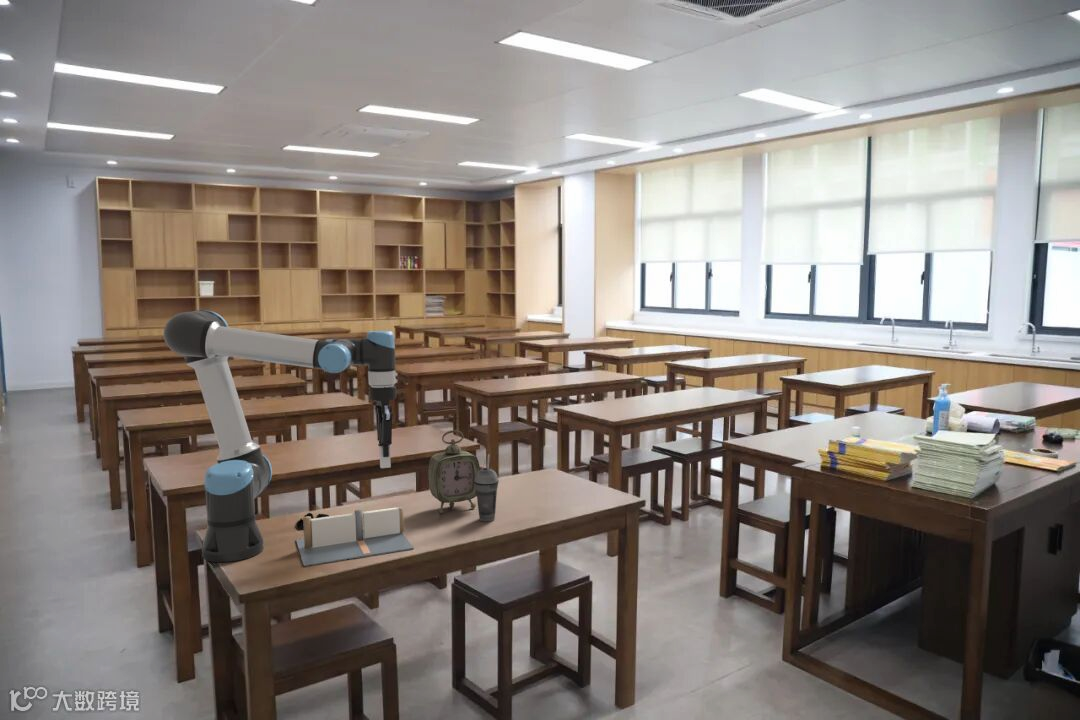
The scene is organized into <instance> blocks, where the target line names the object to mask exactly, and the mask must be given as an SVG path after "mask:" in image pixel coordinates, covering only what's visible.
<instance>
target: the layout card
mask: <svg viewBox="0 0 1080 720" xmlns="http://www.w3.org/2000/svg"><path fill="white" fill-rule="evenodd" d="M295 541H296V542H295V543H296V545H297V549H298V552H299V555H301V556H300V559H301V562H302V565H304V566H305V567H310V566H309V565H312V566H317V564H318V565H324V564H329V563H337V562H343V561H348V560H347V559H349V560H354V559H353V558H356V559H360V557H362V558H369V557H373V556H380V555H386V554H392V553H399V552H404V551H411V550H414V547H413V545H412V544H411V543H410V541H409V540H408V539H407V537H406V535H405V534H404V532H403V533H397V534H390V535H383V536H377V537H370V538H364V531H363V540H361V541H357V540H356V541H350V542H344V543H337V544H330V545H324V546H317V547H311V548H305V546H304V537H302V538H297V539H295ZM342 560H343V561H342ZM336 561H337V562H336ZM304 566H303V567H304Z"/></svg>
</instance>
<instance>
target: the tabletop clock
mask: <svg viewBox="0 0 1080 720" xmlns="http://www.w3.org/2000/svg"><path fill="white" fill-rule="evenodd" d="M453 433H454V434H455V433H457V434H460V435H461V438H460V439H459V440H455V439H451V440H450V441H446V440H445V439H444V438H445V437H446V435H448V434H449V435H450V434H453ZM463 440H464V434H463V432H462V431H459V430H448V431H446V432H445V433H444V434H443V435H442V436H441V441H442V442H443V443H444V444H445V445H446V444H447V445H448V446H446V447H445V450H444V451H443V452H439V453H436V454H433V455H432V456H431V457H430V459H429V462H428V473H427V475H428V476H427V477H428V487H429V490H430V493H431V495H432V497H434V499H436V500H437V501H439V502H440V503H441V504H440V507H439V508H438V509H437V512H438V513H439V514H443V513H444V509H443V507H444V504H449V507H450V508H454V507H455V503H459V502H460V503H461V502H464V501H468V502H469V503H470V508H471V509H475V508H476V506H477V505H476V503H474V502H473V501H472V499H474V498H476V497H477V492H476V488H475V483H474V482H475V477H476V474H477V473H478V472H479V471H480V470H481V467H480V462H479V460H478V457H477V456H476V455H474V454H473V453H470V452H468V451H466V450H462V449H461V447H460V446H459V445H458V444H459V443H460V442H462V441H463Z"/></svg>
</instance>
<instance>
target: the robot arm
mask: <svg viewBox="0 0 1080 720" xmlns="http://www.w3.org/2000/svg"><path fill="white" fill-rule="evenodd" d="M163 339H164V342H165V344H166V346H167V348H169V349H170V351H172V352H174V353H175V354H177V355H180V356H182V357H183V358H184V361H185V364H186V365H187V366H188V367H191V368H193V369H194V372H195V375H196V378H197V381H198V385H199V387H200V391H201V395H202V397H203V400H204V404H205V407H206V410H207V413H208V416H209V419H210V420H209V421H210V423H211V425H212V429H213V432H214V435H215V439H216V441H217V445H218V447H219V454H218V455H217V457H216V462H217V463H215V464H213V465H211V466H209V468H207V469H206V471H205V474H204V482H203V485H204V486H203V487H204V492H205V504H206V506H205V508H206V518H207V522H206V523H207V528H206V532H205V534H204V539H203V542H202V546H201V557H202V559H203V560H205V561H207V562H212V563H231V562H237V561H241V560H242V561H243V560H246V559H248V558H249V559H250V558H251V557H254V556H256V555H258V554H260V553H262V552H263V550H264V547H265V544H264V538H263V535H262V533H261V531H260V529H259V526H258V523H257V521H256V514H255V513H256V511H255V510H256V508H255V499H256V498H257V497H258V496H259V495H260V494H261V493H263V491H265V490H266V489H267V487H268V485H269V484H270V483H271V479H272V475H273V468H272V464H271V462H270V460H269V458H267V457H266V455H263V452H262V450H261V446H260V444H257V443H256V442H254V441H253V440H252V437H251V433H250V430H249V427H248V423H247V421H246V417H245V413H244V411H243V410H244V409H243V408H242V404H241V400H240V397H239V395H238V394H239V393H238V391H237V389H236V385H235V382H234V381H235V380H234V378H233V376H232V371H231V369H230V366H229V362H228V359H229V358H236V359H243V360H244V359H245V360H251V361H258V362H266V363H274V364H281V365H289V366H290V365H291V366H296V367H297V366H298V367H304V368H311V369H317V370H324V371H325V372H327V373H328V374H329V373H330V374H336V373H337V374H339V373H341V372H343V371H345V370H346V369H347V368H348V367H349V366H368V367H367V369H368V370H367V374H368V376H367V377H368V385H369V387H368V394H369V400H370V401H373V402H376V405H375V406H374V412H375V423H376V434H377V435H376V436H377V441H378V444H377V445H378V447H379V468H380V469H387V468H389V469H390V468H391V465H392V463H391V461H392V460H391V445H392V444H393V442H392V441H393V440H392V439H393V434H392V432H393V418H394V417H393V416H394V414H393V412H392V411H393V410H392V409H393V408H392V405H390V401H393V400H395V399H397V386H396V383H397V382H396V381H397V380H396V377H398V375H399V374H398V373H397V372H396V346H395V345H396V344H395V335H394V332H393V331H391V330H371V331H368V332H367V334H366V337H363V338H362V337H361V338H329V339H325V340H320V339H314V338H306V337H300V336H299V337H298V336H294V335H293V336H292V335H285V334H279V333H272V332H264V331H258V330H250V329H249V330H248V329H244V328H237V327H230V326H229V325H228V322H227V321H226V319H224V317H222V315H220V314H218V312H215V311H212V310H206V309H197V310H194V311H193V310H192V311H185V312H180V313H179V312H178V313H176V314H175V315H173V316H172V317H170V318H169V319H168V321H167V322H166V323H165V326H164V328H163Z"/></svg>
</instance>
